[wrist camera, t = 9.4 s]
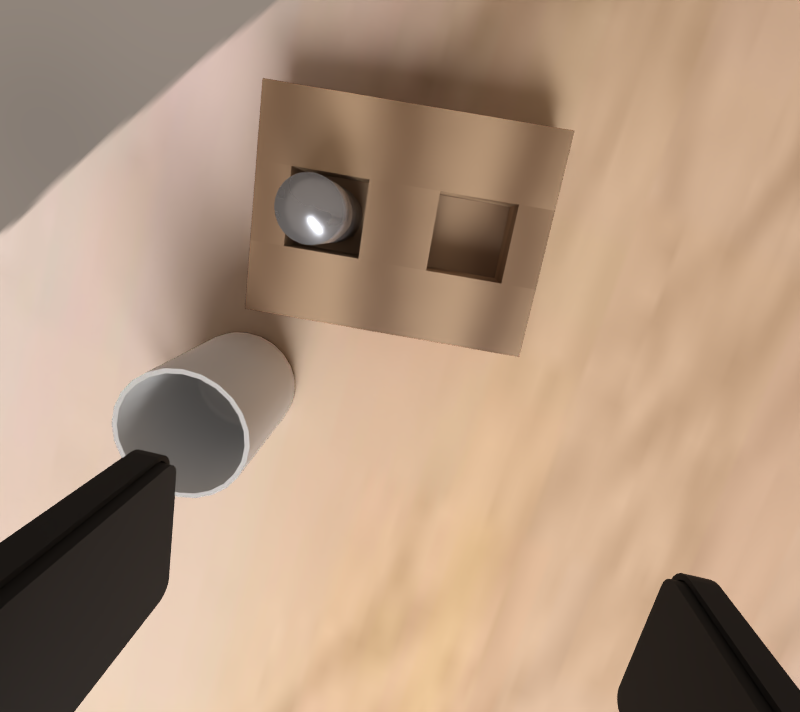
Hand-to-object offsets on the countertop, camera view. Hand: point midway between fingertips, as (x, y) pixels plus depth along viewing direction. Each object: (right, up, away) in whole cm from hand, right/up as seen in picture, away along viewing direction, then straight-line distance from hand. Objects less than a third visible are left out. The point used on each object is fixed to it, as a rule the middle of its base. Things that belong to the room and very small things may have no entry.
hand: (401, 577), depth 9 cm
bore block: (0, +12, +20) cm, 24 cm away
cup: (-12, +2, +24) cm, 27 cm away
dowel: (-4, +13, +19) cm, 24 cm away
